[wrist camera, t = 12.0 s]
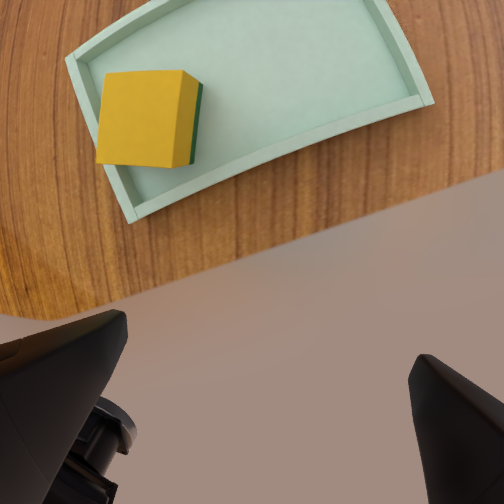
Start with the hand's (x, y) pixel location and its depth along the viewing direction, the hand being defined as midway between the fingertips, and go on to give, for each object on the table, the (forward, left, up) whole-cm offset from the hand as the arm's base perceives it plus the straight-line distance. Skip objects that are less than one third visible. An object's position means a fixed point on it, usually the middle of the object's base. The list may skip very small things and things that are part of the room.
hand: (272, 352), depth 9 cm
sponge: (+6, +8, -12) cm, 15 cm away
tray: (+10, +4, -12) cm, 16 cm away
